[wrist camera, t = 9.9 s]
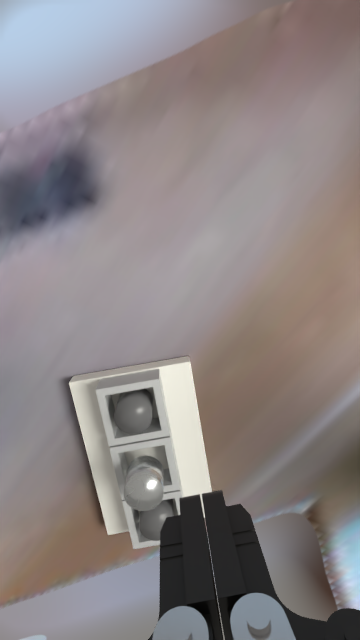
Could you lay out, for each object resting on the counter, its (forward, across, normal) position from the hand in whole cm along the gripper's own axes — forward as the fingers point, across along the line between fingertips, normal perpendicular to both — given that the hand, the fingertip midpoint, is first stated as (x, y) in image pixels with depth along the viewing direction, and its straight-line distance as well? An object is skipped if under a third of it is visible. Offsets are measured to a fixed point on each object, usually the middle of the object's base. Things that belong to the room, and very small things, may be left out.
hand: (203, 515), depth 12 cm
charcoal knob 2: (+27, +6, +22) cm, 35 cm away
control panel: (+29, +6, +15) cm, 33 cm away
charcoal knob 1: (+27, +6, +8) cm, 29 cm away
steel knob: (+24, +6, +15) cm, 29 cm away
